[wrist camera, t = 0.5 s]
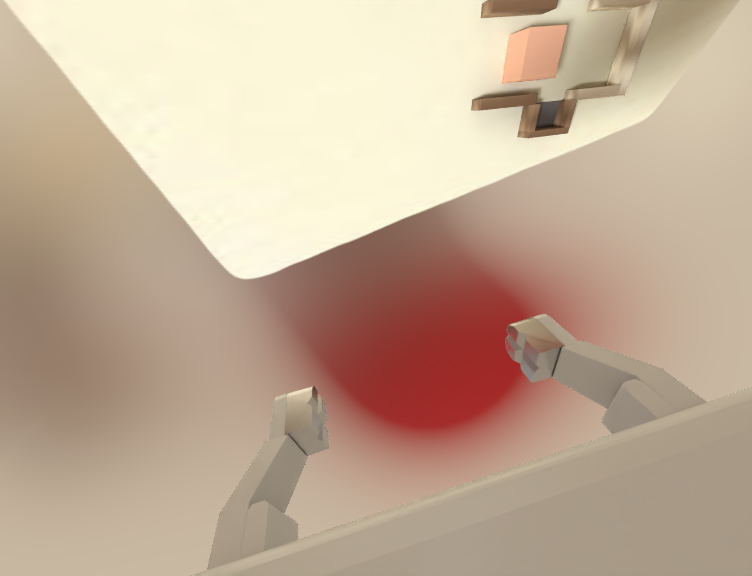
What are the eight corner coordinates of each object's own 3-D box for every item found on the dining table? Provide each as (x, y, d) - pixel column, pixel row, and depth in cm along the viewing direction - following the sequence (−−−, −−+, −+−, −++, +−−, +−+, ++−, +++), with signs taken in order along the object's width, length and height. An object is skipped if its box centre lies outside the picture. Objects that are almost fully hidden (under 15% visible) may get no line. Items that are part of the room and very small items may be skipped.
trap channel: (487, -49, 36) (500, -61, 34) (660, -55, 39) (683, -66, 37) (468, 142, 49) (476, 144, 47) (598, 126, 52) (612, 127, 50)
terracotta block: (508, 35, 42) (530, 27, 38) (543, 32, 42) (567, 24, 38) (501, 83, 45) (520, 80, 41) (533, 80, 46) (555, 77, 42)
